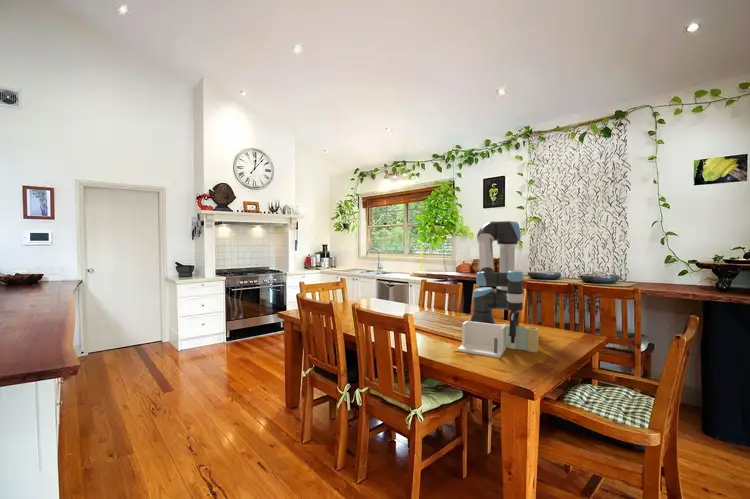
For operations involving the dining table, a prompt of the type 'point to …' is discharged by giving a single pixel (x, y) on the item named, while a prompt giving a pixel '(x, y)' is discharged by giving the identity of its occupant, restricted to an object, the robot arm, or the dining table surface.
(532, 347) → the door
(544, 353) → the dining table surface
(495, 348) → the box
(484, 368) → the dining table surface
